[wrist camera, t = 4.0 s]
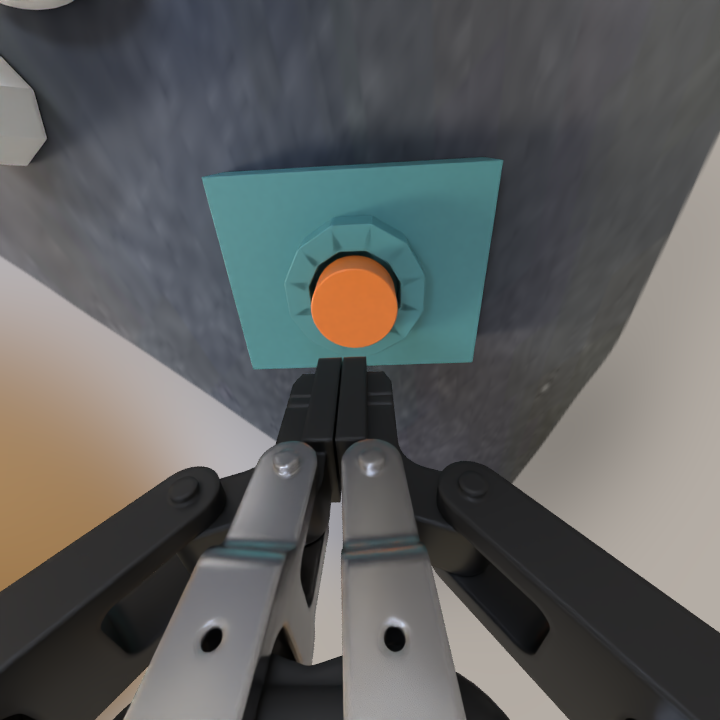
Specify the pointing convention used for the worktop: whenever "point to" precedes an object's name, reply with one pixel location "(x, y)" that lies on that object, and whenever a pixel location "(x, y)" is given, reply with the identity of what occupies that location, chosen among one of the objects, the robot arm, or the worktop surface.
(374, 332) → the orange button cap
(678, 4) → the worktop surface
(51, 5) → the white round stack
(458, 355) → the button base
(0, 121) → the pepper shaker
